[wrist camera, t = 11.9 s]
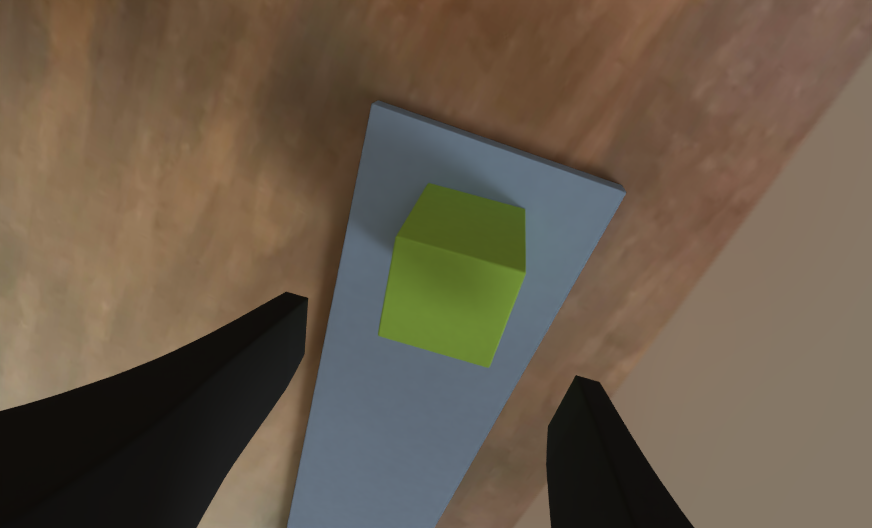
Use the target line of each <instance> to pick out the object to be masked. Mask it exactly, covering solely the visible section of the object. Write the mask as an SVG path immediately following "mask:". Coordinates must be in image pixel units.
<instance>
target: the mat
mask: <svg viewBox="0 0 872 528" xmlns="http://www.w3.org/2000/svg"><path fill="white" fill-rule="evenodd" d="M428 183H431V184H435V185H439V186H442V187H446V188H450V189H453V190H457V191H461V192H464V193H468V194H472V195H476V196H479V197H483V198H487V199H490V200H494V201H498V202H501V203H505V204H509V205H512V206H516V207H520V208H523V209H525V215H526V275H525V278H524V280H523V283H522V285H521V288H520V290H519V293H518V296H517V298H516V301H515V303H514V306H513V309H512V311H511V314H510V316H509V319H508V321H507V324H506V327H505V329H504V332H503V334H502V337H501V339H500V342H499V345H498V347H497V350H496V352H495V355H494V357H493V360H492V363H491V365H490V367H489V368H486V367H483V366H479V365H476V364H473V363H469V362H466V361H462V360H459V359H455V358H452V357H449V356H445V355H442V354H438V353H435V352H431V351H428V350H424V349H421V348H418V347H414V346H411V345H407V344H404V343H400V342H397V341H393V340H390V339H387V338H383V337H380V336H378V330H379V324H380V319H381V313H382V308H383V302H384V297H385V291H386V286H387V281H388V275H389V270H390V264H391V259H392V253H393V248H394V242H395V237H396V235H397V234H398V232H399V230H400V229H401V227H402V225H403V224H404V222H405V220H406V219H407V217H408V215H409V214H410V212H411V211H412V209H413V207H414V206H415V204H416V202H417V201H418V199H419V197H420V196H421V194H422V192H423V191H424V189H425V187H426V186H427V184H428ZM625 194H626V191H625V189H624V188H623V186H622V185H619V184H617V183H614V182H611V181H608V180H605V179H602V178H599V177H597V176H594V175H591V174H588V173H585V172H582V171H579V170H576V169H574V168H571V167H568V166H565V165H562V164H559V163H556V162H554V161H551V160H548V159H545V158H542V157H539V156H536V155H533V154H531V153H528V152H525V151H522V150H519V149H516V148H513V147H511V146H508V145H505V144H502V143H499V142H496V141H493V140H491V139H488V138H485V137H482V136H479V135H476V134H473V133H470V132H468V131H465V130H462V129H459V128H456V127H453V126H450V125H448V124H445V123H442V122H439V121H436V120H433V119H430V118H427V117H425V116H422V115H419V114H416V113H413V112H410V111H407V110H405V109H402V108H399V107H396V106H393V105H390V104H387V103H384V102H382V101H379V100H378V101H376V102H374V103H372V105H371V110H370V115H369V120H368V125H367V130H366V135H365V140H364V145H363V150H362V155H361V160H360V165H359V170H358V175H357V180H356V185H355V190H354V195H353V200H352V205H351V210H350V215H349V220H348V225H347V230H346V235H345V240H344V245H343V250H342V255H341V260H340V265H339V270H338V275H337V280H336V285H335V290H334V295H333V300H332V305H331V310H330V315H329V320H328V325H327V330H326V335H325V340H324V344H323V349H322V354H321V359H320V364H319V369H318V374H317V379H316V384H315V389H314V394H313V399H312V404H311V409H310V414H309V419H308V424H307V429H306V434H305V439H304V444H303V449H302V454H301V459H300V464H299V469H298V474H297V479H296V484H295V489H294V494H293V499H292V504H291V509H290V514H289V519H288V524H287V528H434V527H435V525H436V524H437V522H438V520H439V518H440V517H441V515H442V513H443V511H444V510H445V508H446V506H447V504H448V503H449V501H450V499H451V498H452V496H453V494H454V492H455V491H456V489H457V487H458V485H459V484H460V482H461V480H462V478H463V477H464V475H465V473H466V471H467V470H468V468H469V466H470V464H471V463H472V461H473V459H474V457H475V456H476V454H477V452H478V450H479V449H480V447H481V445H482V443H483V442H484V440H485V438H486V436H487V435H488V433H489V431H490V429H491V428H492V426H493V424H494V422H495V421H496V419H497V417H498V416H499V414H500V412H501V410H502V409H503V407H504V405H505V403H506V402H507V400H508V398H509V396H510V395H511V393H512V391H513V389H514V388H515V386H516V384H517V382H518V381H519V379H520V377H521V375H522V374H523V372H524V370H525V368H526V367H527V365H528V363H529V361H530V360H531V358H532V356H533V354H534V353H535V351H536V349H537V347H538V346H539V344H540V342H541V341H542V339H543V337H544V335H545V334H546V332H547V330H548V328H549V327H550V325H551V323H552V321H553V320H554V318H555V316H556V314H557V313H558V311H559V309H560V307H561V306H562V304H563V302H564V300H565V299H566V297H567V295H568V293H569V292H570V290H571V288H572V286H573V285H574V283H575V281H576V279H577V278H578V276H579V274H580V272H581V271H582V269H583V267H584V265H585V264H586V262H587V260H588V259H589V257H590V255H591V253H592V252H593V250H594V248H595V246H596V245H597V243H598V241H599V239H600V238H601V236H602V234H603V232H604V231H605V229H606V227H607V225H608V224H609V222H610V220H611V218H612V217H613V215H614V213H615V211H616V210H617V208H618V206H619V204H620V203H621V201H622V199H623V197H624V196H625Z"/></svg>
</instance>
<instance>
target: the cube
mask: <svg viewBox="0 0 872 528" xmlns="http://www.w3.org/2000/svg"><path fill="white" fill-rule="evenodd" d="M525 275H526V215H525V209H523V208H520V207H516V206H512V205H509V204H505V203H501V202H498V201H494V200H490V199H487V198H483V197H479V196H476V195H472V194H468V193H464V192H461V191H457V190H453V189H450V188H446V187H442V186H439V185H435V184H431V183H428V184H427V186H426V187H425V189H424V191H423V192H422V194H421V196H420V197H419V199H418V201H417V202H416V204H415V206H414V207H413V209H412V211H411V212H410V214H409V215H408V217H407V219H406V220H405V222H404V224H403V225H402V227H401V229H400V230H399V232H398V234H397V235H396V237H395V242H394V248H393V253H392V259H391V264H390V270H389V275H388V281H387V286H386V291H385V297H384V302H383V308H382V313H381V319H380V324H379V330H378V336H380V337H383V338H387V339H390V340H393V341H397V342H400V343H404V344H407V345H411V346H414V347H418V348H421V349H424V350H428V351H431V352H435V353H438V354H442V355H445V356H449V357H452V358H455V359H459V360H462V361H466V362H469V363H473V364H476V365H479V366H483V367H486V368H489V367H490V365H491V363H492V360H493V357H494V355H495V352H496V350H497V347H498V345H499V342H500V339H501V337H502V334H503V332H504V329H505V327H506V324H507V321H508V319H509V316H510V314H511V311H512V309H513V306H514V303H515V301H516V298H517V296H518V293H519V290H520V288H521V285H522V283H523V280H524V278H525Z"/></svg>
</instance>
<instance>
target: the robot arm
mask: <svg viewBox="0 0 872 528" xmlns="http://www.w3.org/2000/svg"><path fill="white" fill-rule="evenodd" d="M307 308H308V298H307V297H303V296H300V295H296V294H293V293H289V292H285V293H283V294H281V295H279V296H277V297H276V298H274V299H272V300H270V301H268V302H267V303H265V304H263V305H261V306H259V307H258V308H256V309H254V310H252V311H251V312H249V313H247V314H245V315H243V316H242V317H240V318H238V319H236V320H234V321H232V322H231V323H229V324H227V325H225V326H223V327H221V328H219V329H217V330H216V331H214V332H212V333H210V334H208V335H206V336H204V337H202V338H200V339H198V340H196V341H194V342H191V343H189V344H187V345H185V346H183V347H181V348H179V349H177V350H175V351H173V352H171V353H168V354H166V355H164V356H162V357H159V358H157V359H155V360H152V361H150V362H147V363H145V364H142V365H140V366H137V367H135V368H132V369H130V370H127V371H125V372H122V373H120V374H117V375H114V376H111V377H108V378H106V379H103V380H100V381H97V382H94V383H91V384H88V385H85V386H82V387H79V388H76V389H73V390H70V391H67V392H64V393H61V394H58V395H55V396H52V397H48V398H45V399H42V400H38V401H35V402H31V403H28V404H25V405H21V406H17V407H14V408H10V409H6V410H3V411H0V528H197V526H198V524H199V522H200V520H201V519H202V517H203V515H204V513H205V511H206V510H207V508H208V506H209V504H210V503H211V501H212V499H213V497H214V496H215V494H216V492H217V491H218V489H219V487H220V485H221V484H222V482H223V480H224V478H225V477H226V475H227V474H228V472H229V471H230V469H231V467H232V466H233V464H234V463H235V461H236V460H237V458H238V457H239V456H240V454H241V453H242V451H243V450H244V448H245V447H246V446H247V444H248V443H249V441H250V440H251V438H252V437H253V436H254V434H255V433H256V431H257V430H258V428H259V427H260V426H261V424H262V423H263V421H264V420H265V418H266V417H267V416H268V414H269V413H270V411H271V410H272V408H273V407H274V406H275V404H276V403H277V401H278V400H279V398H280V397H281V395H282V394H283V393H284V391H285V390H286V388H287V386H288V385H289V383H290V381H291V379H292V377H293V375H294V374H295V372H296V370H297V368H298V366H299V364H300V362H301V360H302V358H303V356H304V354H305V338H306V323H307ZM546 468H547V482H548V495H549V508H550V520H551V528H694V527H693V525H692V524H691V523H690V522H689V520H688V519H687V518H686V516H685V515H684V513H683V512H682V511H681V509H680V508H679V507H678V505H677V504H676V502H675V501H674V499H673V498H672V496H671V495H670V494H669V492H668V491H667V489H666V488H665V486H664V485H663V484H662V482H661V481H660V479H659V478H658V476H657V475H656V473H655V472H654V470H653V469H652V467H651V466H650V464H649V463H648V461H647V459H646V458H645V456H644V455H643V453H642V452H641V450H640V448H639V447H638V445H637V444H636V442H635V440H634V439H633V437H632V436H631V434H630V432H629V431H628V429H627V427H626V426H625V424H624V422H623V421H622V419H621V417H620V416H619V414H618V412H617V410H616V409H615V407H614V405H613V404H612V402H611V400H610V399H609V397H608V395H607V394H606V392H605V390H604V389H603V387H602V385H601V384H600V382H597V381H594V380H591V379H587V378H584V377H580V376H577V375H576V376H575V378H574V380H573V382H572V383H571V385H570V387H569V389H568V391H567V393H566V394H565V396H564V398H563V400H562V402H561V404H560V405H559V407H558V409H557V411H556V413H555V415H554V416H553V418H552V420H551V422H550V424H549V426H548V436H547V459H546Z"/></svg>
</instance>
